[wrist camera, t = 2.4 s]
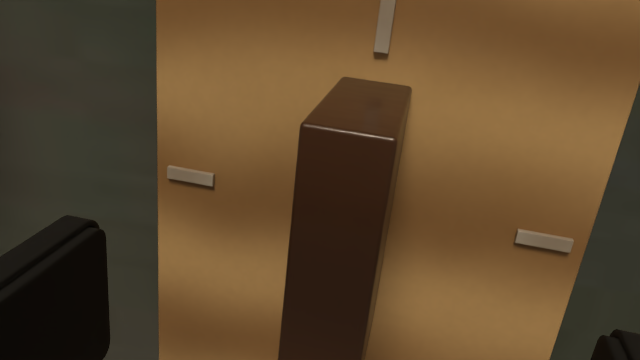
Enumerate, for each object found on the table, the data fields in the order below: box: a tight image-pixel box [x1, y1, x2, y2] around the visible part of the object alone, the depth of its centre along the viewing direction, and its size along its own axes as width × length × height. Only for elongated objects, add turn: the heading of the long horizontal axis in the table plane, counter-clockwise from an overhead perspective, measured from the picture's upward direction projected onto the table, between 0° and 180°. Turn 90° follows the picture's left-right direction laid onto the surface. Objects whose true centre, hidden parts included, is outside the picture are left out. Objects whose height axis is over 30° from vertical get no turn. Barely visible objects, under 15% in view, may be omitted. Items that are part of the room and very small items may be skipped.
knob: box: [278, 77, 412, 360], centre depth 13 cm, size 7×2×5 cm, turn 174°
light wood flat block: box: [156, 0, 640, 360], centre depth 17 cm, size 15×12×3 cm
